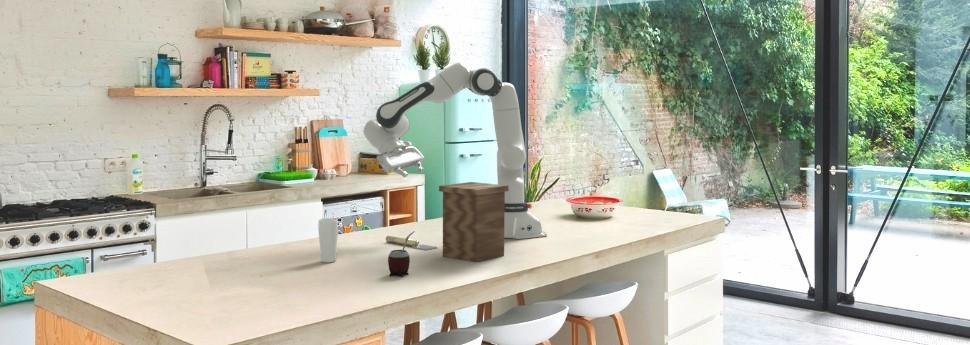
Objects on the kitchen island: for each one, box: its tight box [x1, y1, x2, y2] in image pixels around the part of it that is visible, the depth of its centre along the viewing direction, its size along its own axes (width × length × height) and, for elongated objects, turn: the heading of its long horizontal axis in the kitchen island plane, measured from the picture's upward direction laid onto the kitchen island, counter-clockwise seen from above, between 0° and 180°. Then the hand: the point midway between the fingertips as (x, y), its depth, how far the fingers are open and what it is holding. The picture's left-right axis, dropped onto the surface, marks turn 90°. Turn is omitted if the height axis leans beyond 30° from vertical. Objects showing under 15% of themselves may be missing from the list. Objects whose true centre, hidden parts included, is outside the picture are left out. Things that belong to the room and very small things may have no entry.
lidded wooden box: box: [438, 181, 509, 263], centre depth 319 cm, size 18×18×26 cm
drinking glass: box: [317, 217, 339, 264], centre depth 308 cm, size 7×7×15 cm
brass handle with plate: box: [385, 235, 438, 251], centre depth 341 cm, size 24×6×3 cm, turn 51°
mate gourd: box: [387, 230, 416, 278], centre depth 286 cm, size 8×8×15 cm
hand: (414, 173), depth 347 cm, fingers open, 8 cm apart
